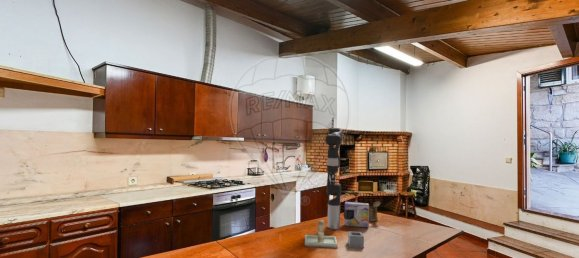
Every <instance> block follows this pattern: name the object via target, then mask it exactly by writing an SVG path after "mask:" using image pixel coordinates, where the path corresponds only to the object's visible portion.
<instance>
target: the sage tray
mask: <svg viewBox="0 0 579 258" xmlns="http://www.w3.org/2000/svg"><path fill="white" fill-rule="evenodd" d="M304 246H305V247H312V248H313V247H314V248H331V249H332V248H333V249H338V241H337V237H336V236H334V235H324V242H318V234H305V235H304Z"/></svg>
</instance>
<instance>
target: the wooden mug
mask: <svg viewBox="0 0 579 258" xmlns="http://www.w3.org/2000/svg"><path fill="white" fill-rule="evenodd" d="M372 204H373V205H369V222H372V223H373V222H379V219H378V207H379V206H380V205H381V201H380V200H377V201H375V202H373V203H372Z"/></svg>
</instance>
